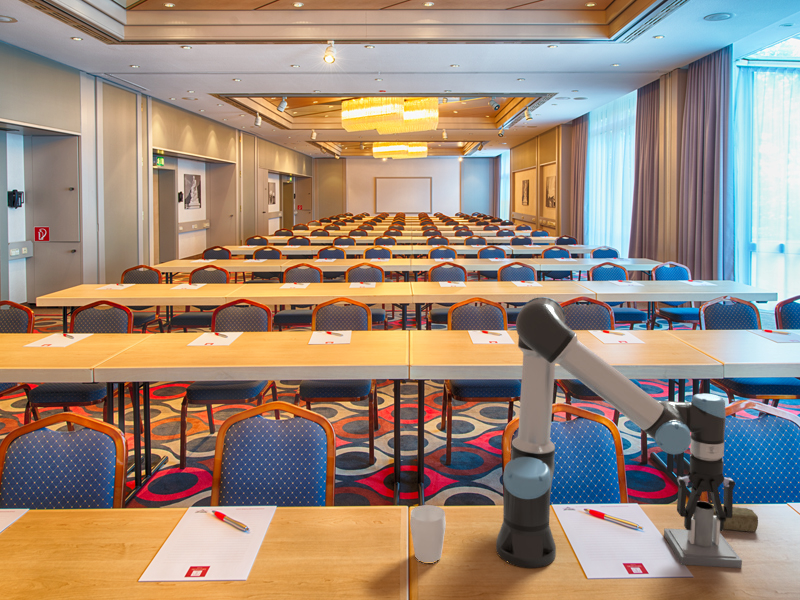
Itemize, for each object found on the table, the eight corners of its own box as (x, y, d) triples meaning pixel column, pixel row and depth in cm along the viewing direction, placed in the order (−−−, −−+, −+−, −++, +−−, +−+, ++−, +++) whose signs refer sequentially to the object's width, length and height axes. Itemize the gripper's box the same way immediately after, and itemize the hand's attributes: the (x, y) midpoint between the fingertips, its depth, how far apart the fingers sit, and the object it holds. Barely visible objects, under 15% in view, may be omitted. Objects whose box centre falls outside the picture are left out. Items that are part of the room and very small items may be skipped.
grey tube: (688, 538, 156) (690, 500, 155) (706, 538, 156) (708, 500, 155) (696, 547, 152) (699, 509, 150) (714, 547, 151) (717, 509, 150)
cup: (450, 552, 155) (450, 508, 153) (438, 570, 147) (438, 524, 145) (418, 544, 159) (418, 502, 157) (404, 562, 151) (404, 517, 149)
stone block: (758, 534, 162) (759, 516, 162) (712, 530, 165) (713, 513, 164) (751, 523, 168) (752, 506, 167) (706, 519, 170) (707, 503, 170)
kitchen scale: (681, 564, 148) (682, 556, 148) (663, 535, 162) (664, 527, 162) (741, 567, 146) (742, 559, 146) (718, 538, 160) (718, 529, 160)
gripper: (673, 460, 148) (670, 548, 151) (752, 462, 146) (747, 551, 149) (664, 449, 156) (661, 532, 159) (738, 450, 153) (734, 535, 156)
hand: (703, 541), depth 154 cm, fingers open, 5 cm apart
